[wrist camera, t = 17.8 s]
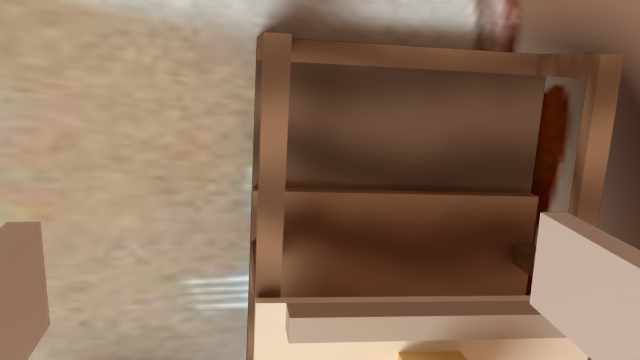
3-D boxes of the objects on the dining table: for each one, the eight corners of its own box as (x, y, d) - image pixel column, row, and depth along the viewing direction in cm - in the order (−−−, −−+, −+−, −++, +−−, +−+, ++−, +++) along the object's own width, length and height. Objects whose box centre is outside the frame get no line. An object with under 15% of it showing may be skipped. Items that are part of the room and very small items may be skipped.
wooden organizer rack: (256, 37, 41) (264, 31, 31) (540, 55, 44) (624, 54, 35) (244, 419, 47) (247, 511, 37) (494, 409, 50) (556, 491, 41)
